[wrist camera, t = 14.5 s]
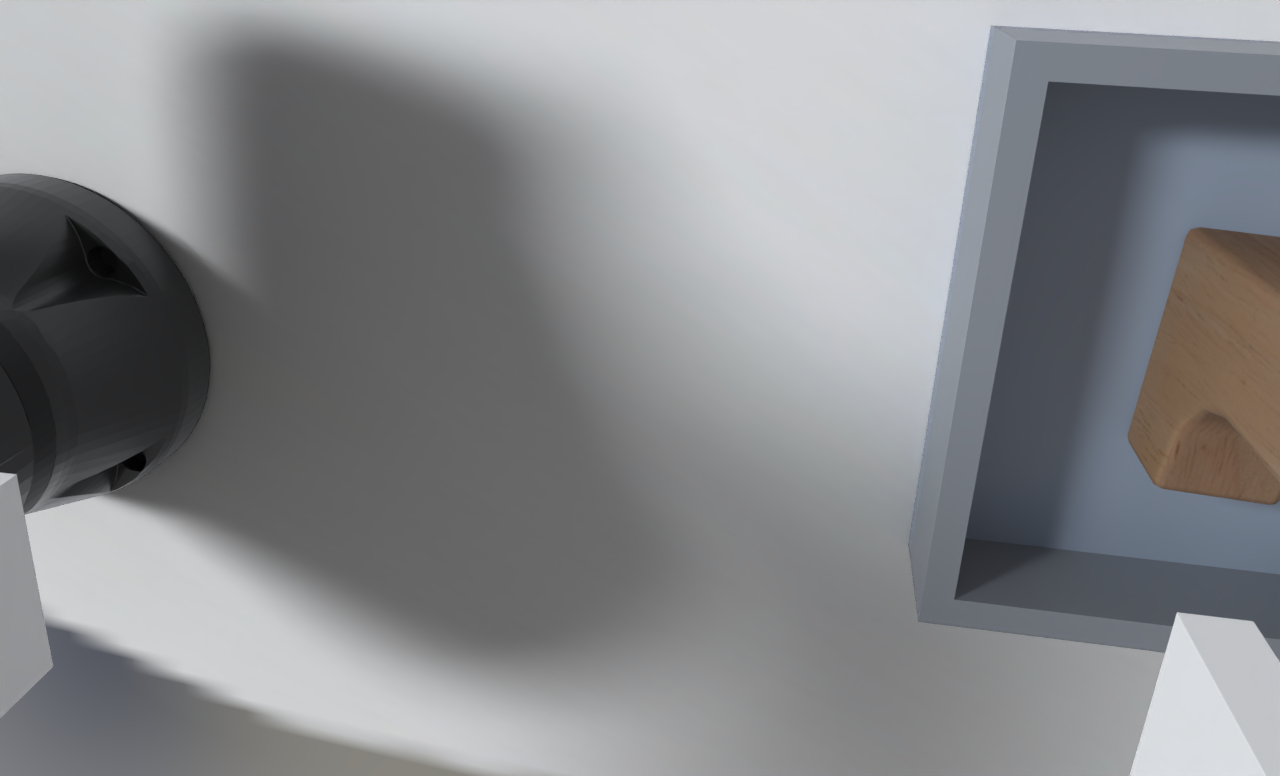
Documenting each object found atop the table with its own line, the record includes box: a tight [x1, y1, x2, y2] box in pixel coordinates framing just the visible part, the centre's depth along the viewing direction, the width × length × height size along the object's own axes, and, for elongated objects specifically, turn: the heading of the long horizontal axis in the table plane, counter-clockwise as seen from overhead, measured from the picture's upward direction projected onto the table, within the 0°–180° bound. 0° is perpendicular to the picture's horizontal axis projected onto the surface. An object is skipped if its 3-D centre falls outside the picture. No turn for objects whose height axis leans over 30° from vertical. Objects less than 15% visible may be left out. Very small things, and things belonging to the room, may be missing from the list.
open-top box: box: [909, 26, 1280, 662], centre depth 41 cm, size 20×22×6 cm
